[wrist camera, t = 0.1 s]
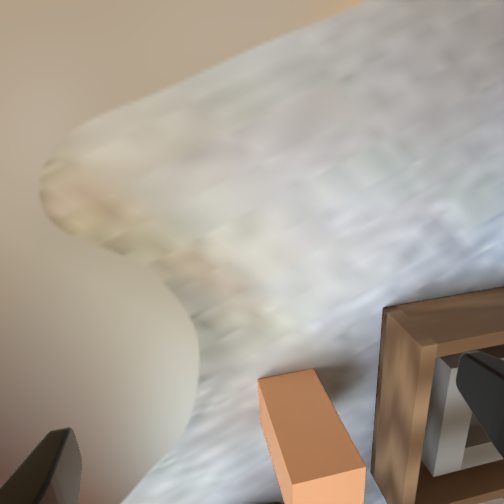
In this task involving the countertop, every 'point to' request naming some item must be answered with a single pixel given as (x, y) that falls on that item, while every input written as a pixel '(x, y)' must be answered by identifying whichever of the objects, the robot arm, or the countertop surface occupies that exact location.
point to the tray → (414, 390)
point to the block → (309, 442)
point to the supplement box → (495, 501)
